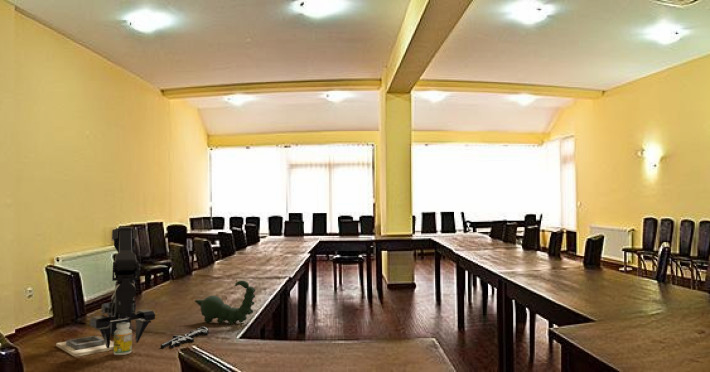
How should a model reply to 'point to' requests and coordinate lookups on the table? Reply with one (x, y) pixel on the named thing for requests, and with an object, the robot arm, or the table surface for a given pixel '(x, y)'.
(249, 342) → the table surface
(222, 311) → the toy figurine
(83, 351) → the collar board
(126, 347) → the supplement bottle
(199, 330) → the toy rifle
